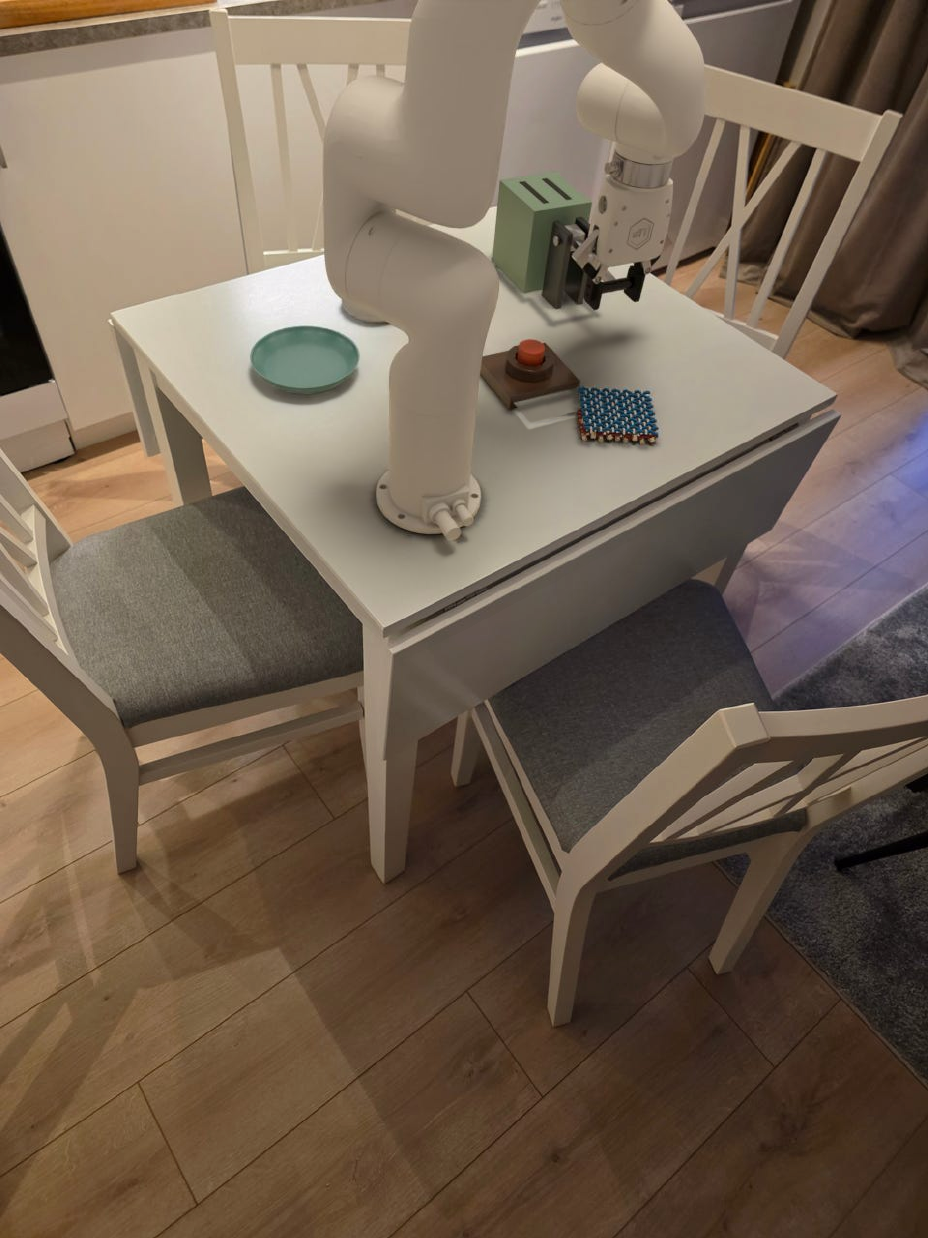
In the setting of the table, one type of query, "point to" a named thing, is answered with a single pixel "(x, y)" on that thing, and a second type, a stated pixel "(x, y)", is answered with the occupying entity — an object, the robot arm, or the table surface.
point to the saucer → (305, 358)
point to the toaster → (532, 224)
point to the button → (531, 352)
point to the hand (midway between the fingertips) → (611, 300)
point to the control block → (525, 376)
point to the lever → (609, 280)
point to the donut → (360, 313)
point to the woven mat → (616, 415)
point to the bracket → (564, 266)
